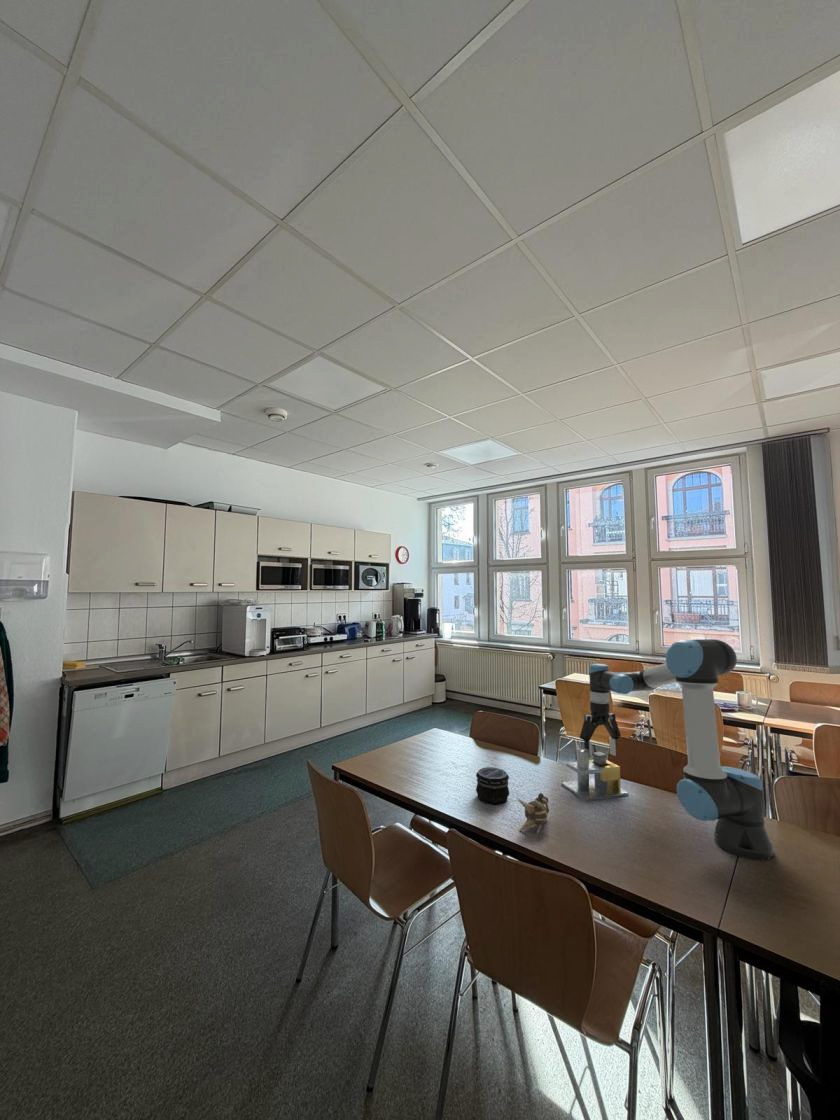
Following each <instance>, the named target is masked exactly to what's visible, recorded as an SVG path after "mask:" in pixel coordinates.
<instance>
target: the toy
mask: <svg viewBox="0 0 840 1120" xmlns="http://www.w3.org/2000/svg"><path fill="white" fill-rule="evenodd" d="M517 800H518V801H519V803H520V804H521V805H522V806H523V808H524V817H525V818H526V821H525V822H524V823H523V825H522V826H521V827H520V828H519V829H518V832H522V831H524V830H528V829H530V828H531V827H533V826H534V825H535V826H536V827H537V829H536V835H538V834H539V833H540V831H541V830H542V827H543V825H544V823H545V822H547V821H548V815H549V812H550V809H549V805H548V804H549V798H548V797H547V796H545V795H544V794H543V793H542V792H539V794H538V796H537V797H536V798H535V799H534V800H532V801H529V802H526V801H524V800H522V799H520V798H517Z"/></svg>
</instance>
